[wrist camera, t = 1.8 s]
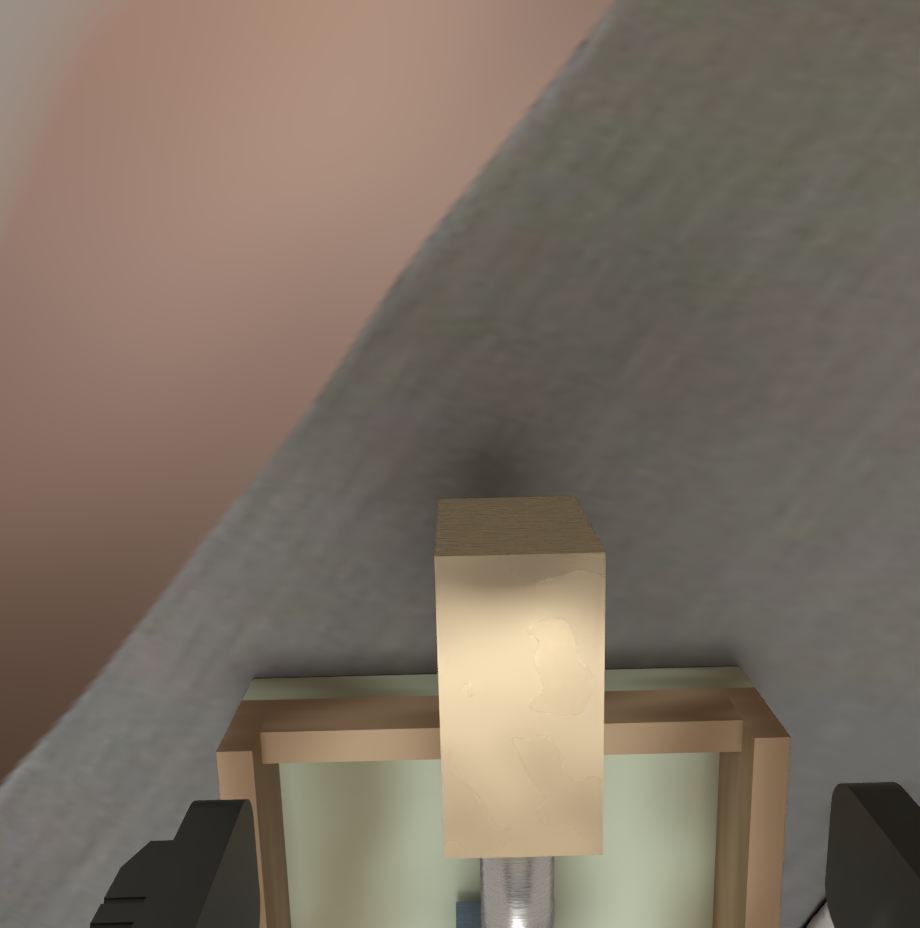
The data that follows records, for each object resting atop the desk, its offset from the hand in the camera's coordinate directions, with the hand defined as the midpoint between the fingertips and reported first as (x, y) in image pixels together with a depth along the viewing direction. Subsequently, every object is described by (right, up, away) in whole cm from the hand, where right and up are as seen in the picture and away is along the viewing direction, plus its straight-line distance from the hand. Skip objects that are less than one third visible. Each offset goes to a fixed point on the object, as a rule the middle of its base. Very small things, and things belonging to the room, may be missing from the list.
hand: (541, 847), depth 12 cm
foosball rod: (0, -3, +15) cm, 15 cm away
